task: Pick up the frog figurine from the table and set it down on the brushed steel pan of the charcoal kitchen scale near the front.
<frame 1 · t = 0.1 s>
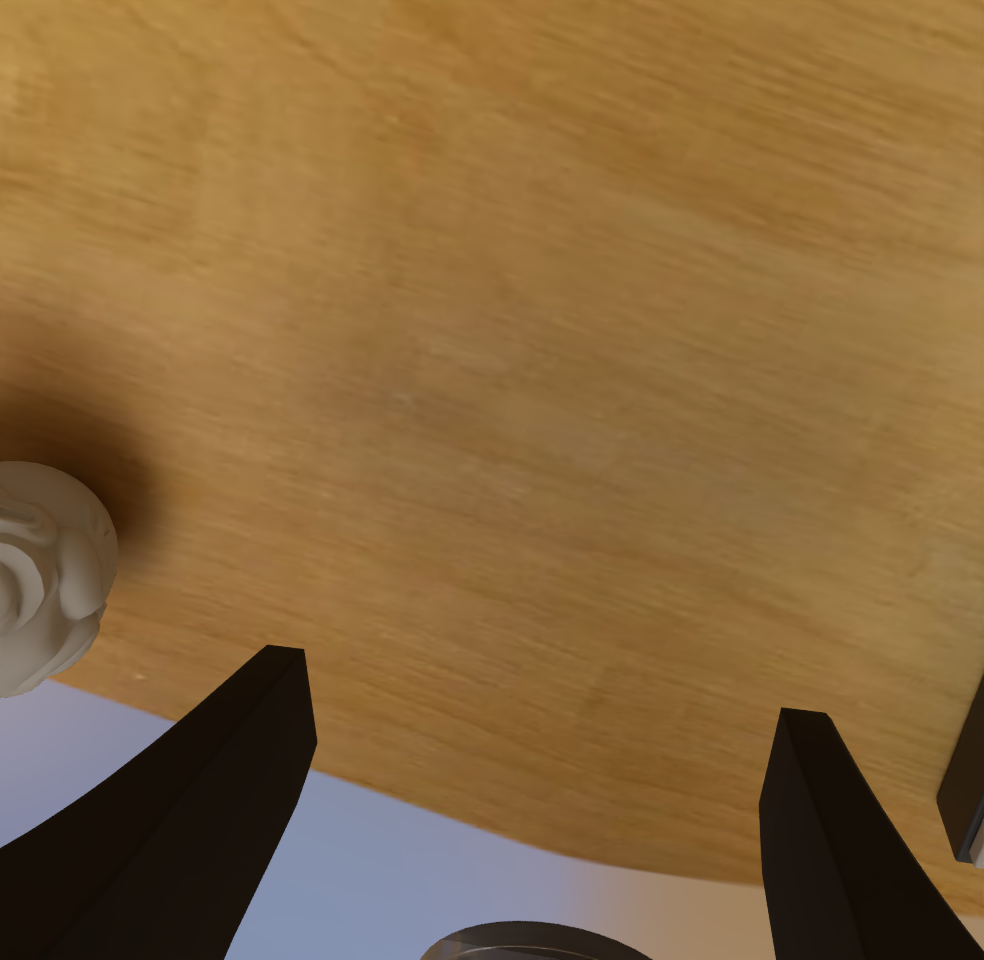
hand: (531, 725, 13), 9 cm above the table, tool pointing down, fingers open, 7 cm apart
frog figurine: (73, 494, 25), on the table
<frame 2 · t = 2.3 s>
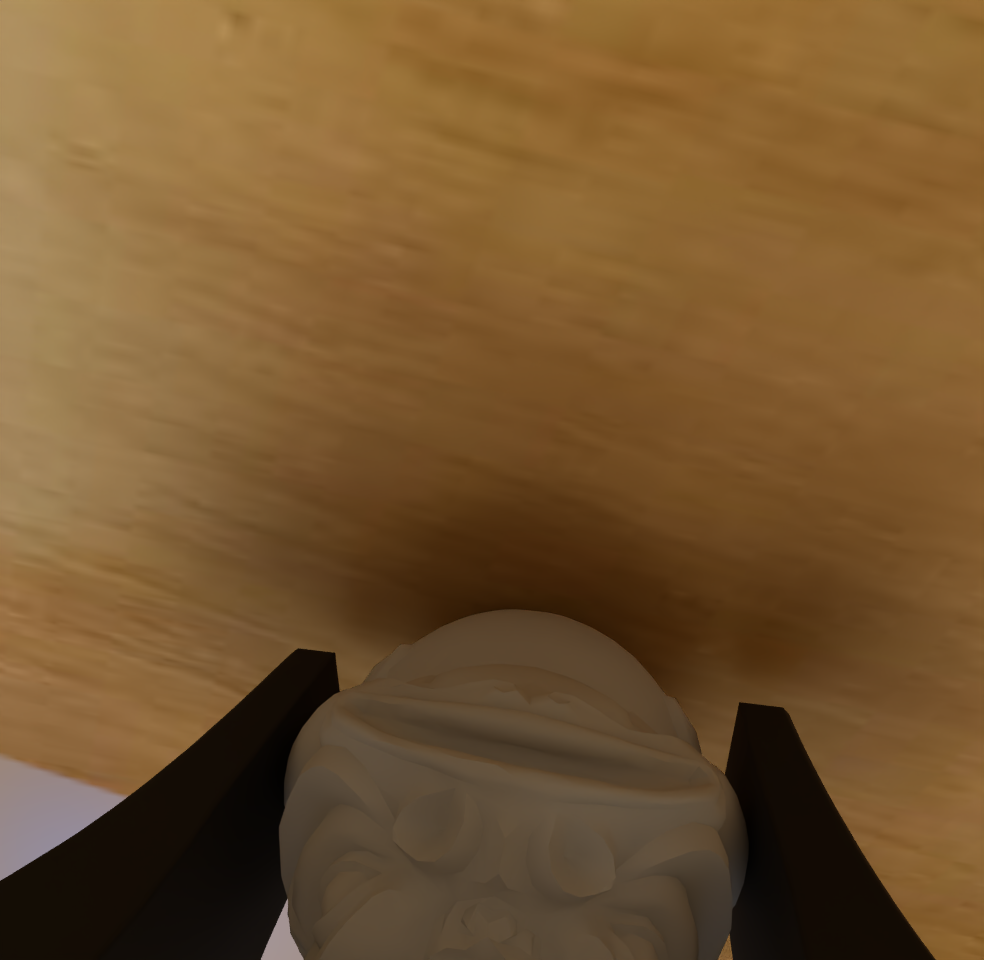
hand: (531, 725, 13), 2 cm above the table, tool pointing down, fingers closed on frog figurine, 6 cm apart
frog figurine: (542, 646, 15), on the table, touching gripper
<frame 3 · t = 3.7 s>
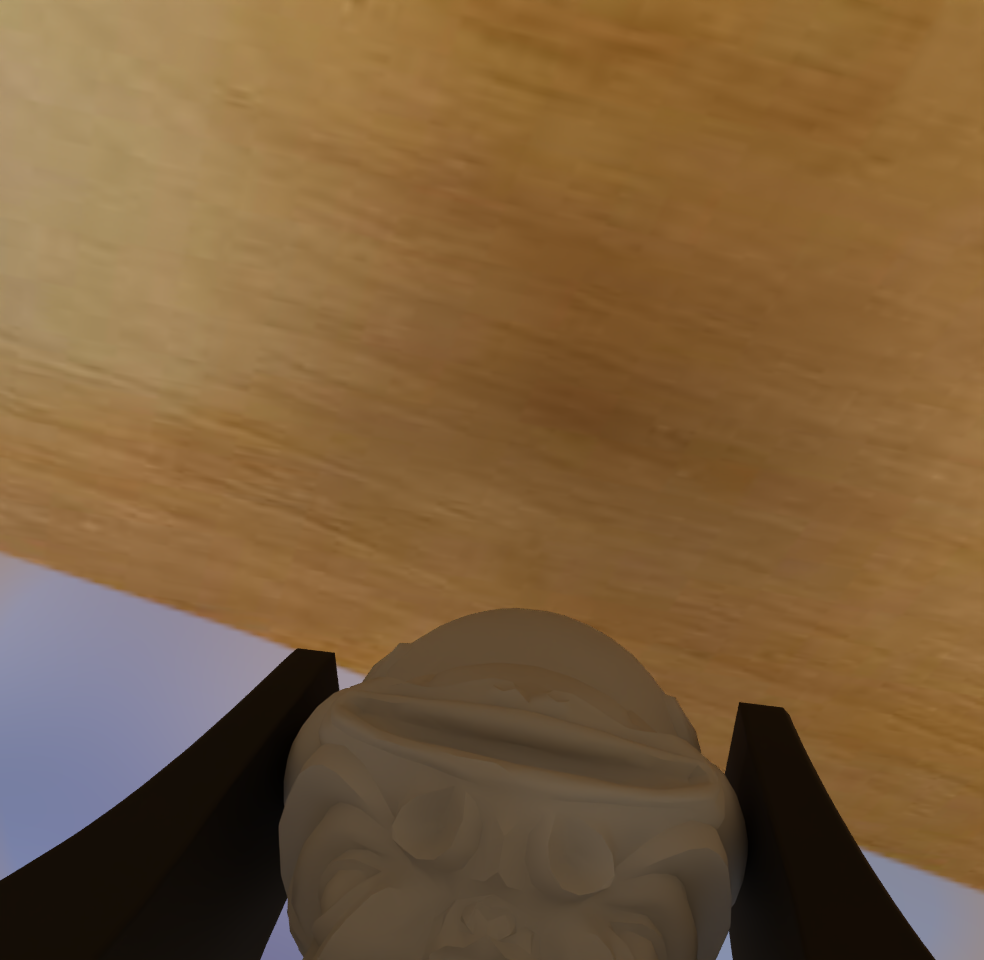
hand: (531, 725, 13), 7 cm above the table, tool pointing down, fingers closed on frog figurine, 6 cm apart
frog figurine: (541, 645, 15), point 5 cm above the table, touching gripper
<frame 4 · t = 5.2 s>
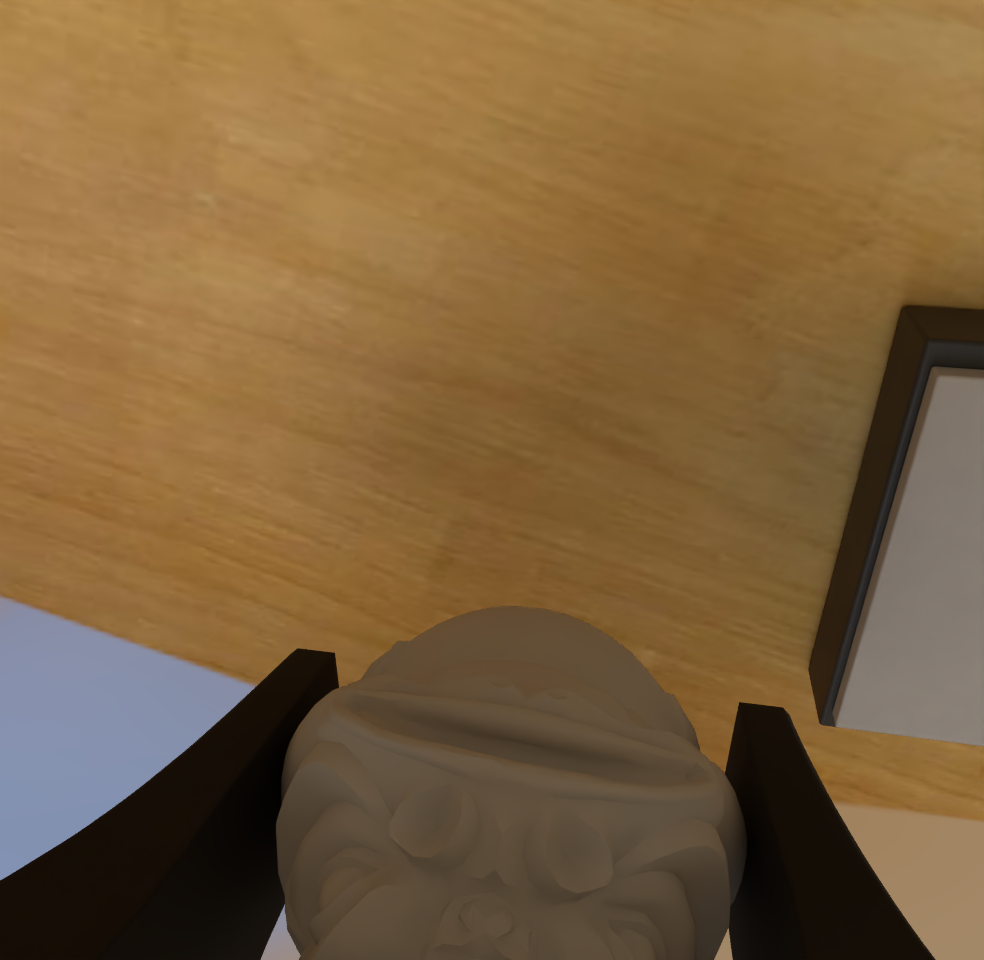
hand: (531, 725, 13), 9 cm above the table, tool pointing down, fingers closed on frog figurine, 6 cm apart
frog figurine: (540, 643, 15), point 7 cm above the table, touching gripper
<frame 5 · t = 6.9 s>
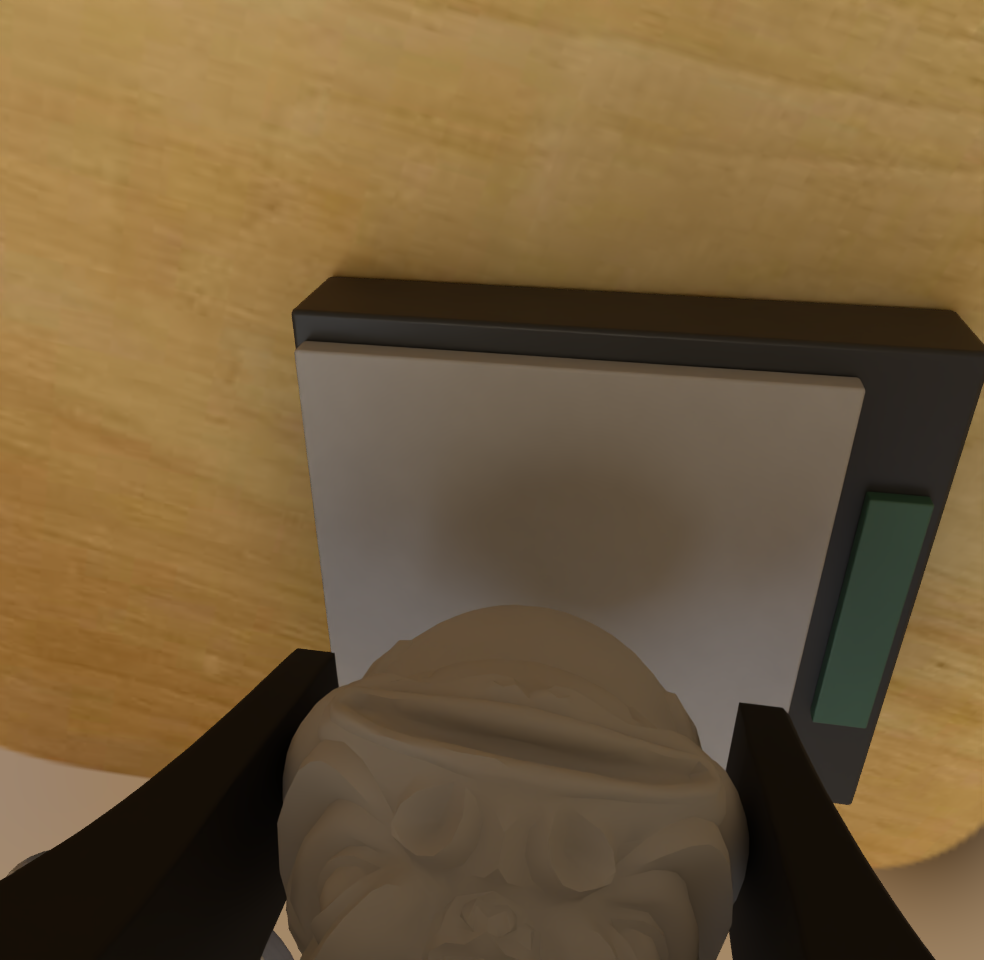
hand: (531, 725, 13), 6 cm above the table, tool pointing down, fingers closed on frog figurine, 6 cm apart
scale: (606, 527, 18), on the table
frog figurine: (542, 642, 15), point 4 cm above the table, touching gripper
when the fingers open (4 cm above the table, at t = 8.1 s): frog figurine stays where it is, resting on scale.
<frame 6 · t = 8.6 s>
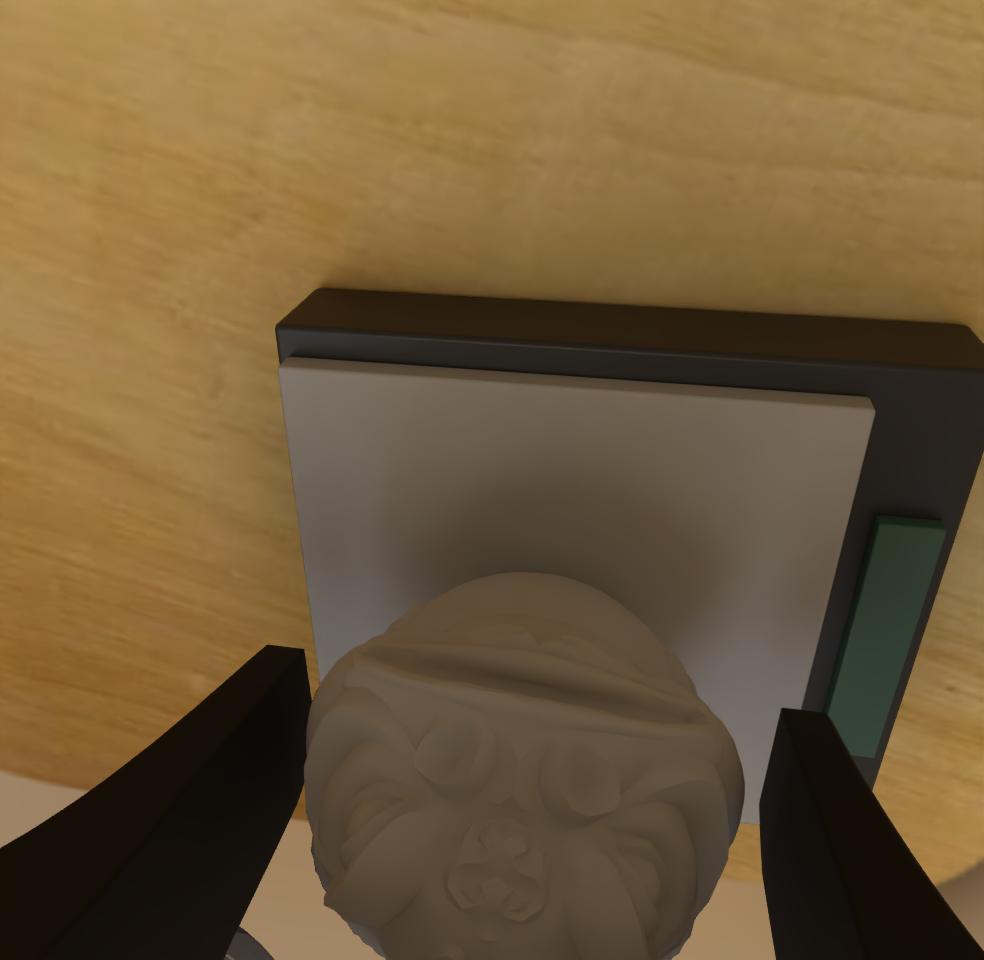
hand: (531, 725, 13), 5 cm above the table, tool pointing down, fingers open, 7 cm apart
scale: (604, 546, 17), on the table
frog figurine: (548, 611, 15), point 2 cm above the table, touching scale
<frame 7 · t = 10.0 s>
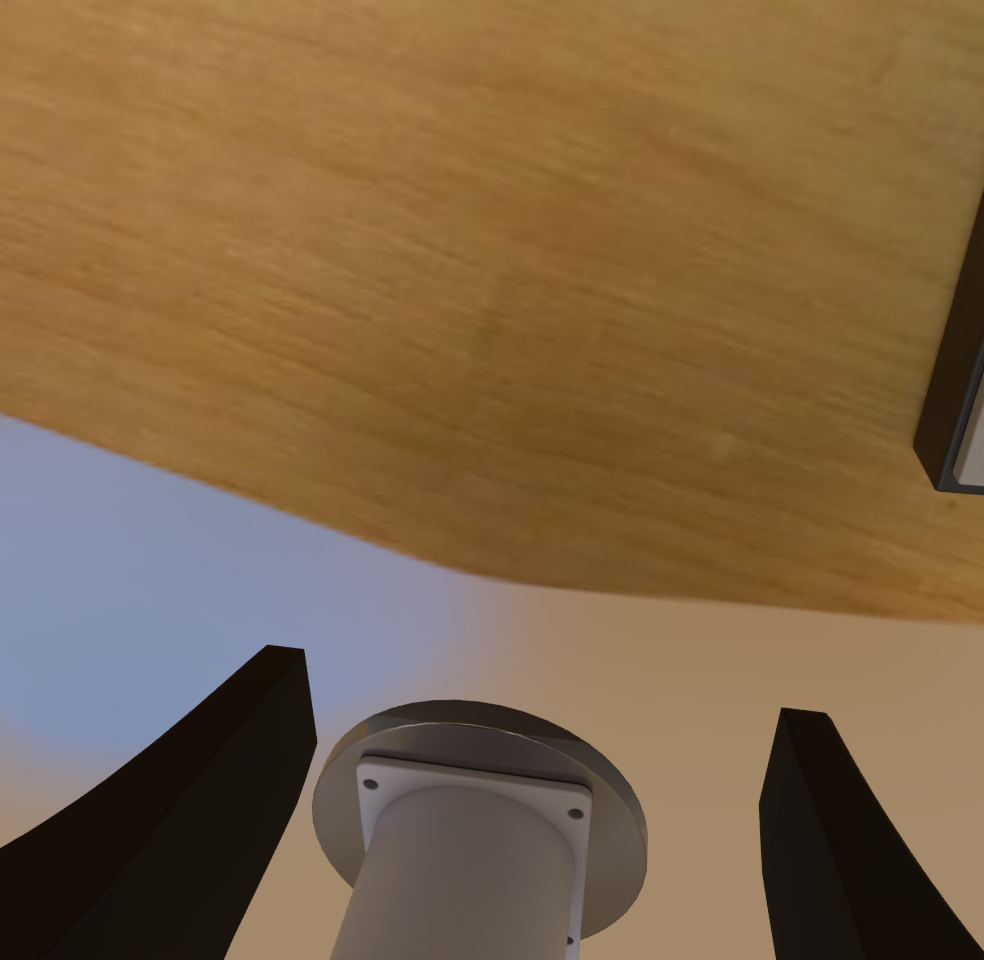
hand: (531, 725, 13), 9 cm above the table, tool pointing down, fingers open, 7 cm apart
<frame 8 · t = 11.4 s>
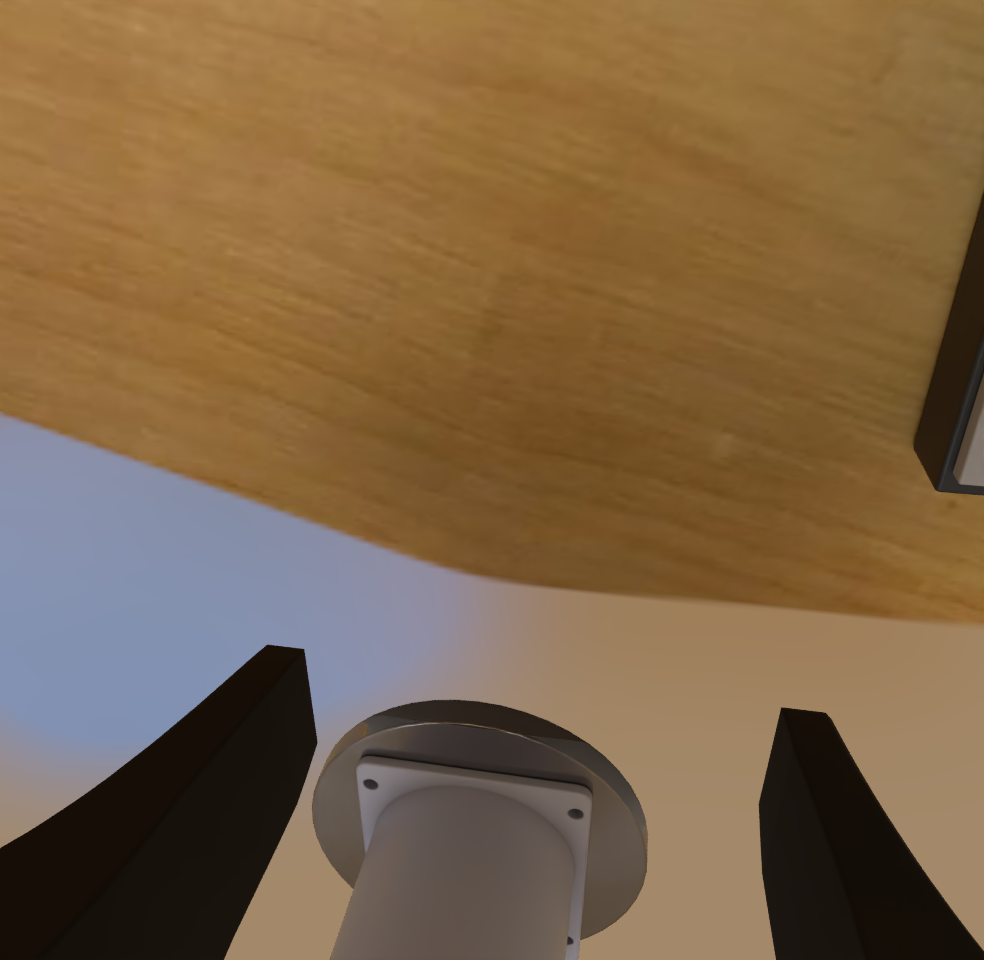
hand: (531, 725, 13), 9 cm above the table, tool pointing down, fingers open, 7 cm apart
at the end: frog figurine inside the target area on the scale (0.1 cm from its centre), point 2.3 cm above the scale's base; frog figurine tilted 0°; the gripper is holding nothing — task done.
